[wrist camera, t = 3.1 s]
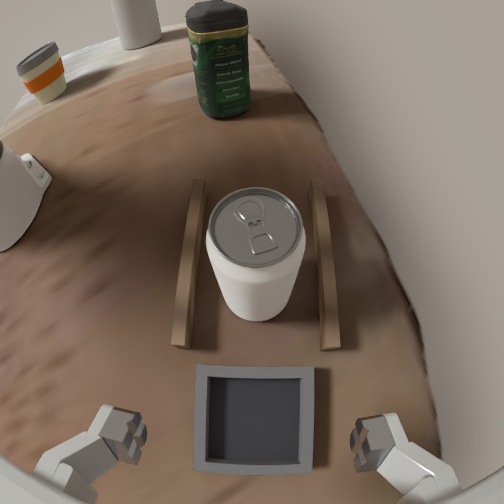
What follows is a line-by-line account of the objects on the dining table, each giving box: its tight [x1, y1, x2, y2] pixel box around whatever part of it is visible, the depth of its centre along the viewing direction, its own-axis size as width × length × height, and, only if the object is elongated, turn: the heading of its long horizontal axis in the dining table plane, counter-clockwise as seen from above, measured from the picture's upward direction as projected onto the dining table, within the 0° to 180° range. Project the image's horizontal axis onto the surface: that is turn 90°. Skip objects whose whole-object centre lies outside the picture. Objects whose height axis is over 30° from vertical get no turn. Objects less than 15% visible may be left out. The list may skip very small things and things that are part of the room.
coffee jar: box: [185, 0, 250, 118], centre depth 33 cm, size 10×8×19 cm
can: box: [206, 187, 306, 321], centre depth 22 cm, size 6×6×12 cm
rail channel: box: [171, 179, 340, 351], centre depth 27 cm, size 18×14×2 cm
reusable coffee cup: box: [16, 42, 67, 105], centre depth 45 cm, size 13×13×15 cm
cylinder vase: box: [110, 0, 162, 50], centre depth 51 cm, size 12×12×25 cm
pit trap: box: [194, 364, 314, 475], centre depth 21 cm, size 10×10×2 cm
